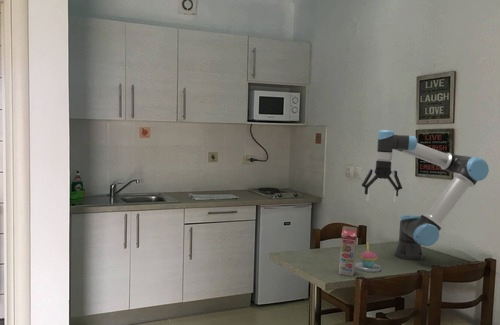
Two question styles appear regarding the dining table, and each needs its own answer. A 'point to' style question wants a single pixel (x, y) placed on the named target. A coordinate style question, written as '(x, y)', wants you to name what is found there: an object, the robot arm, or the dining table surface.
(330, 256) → the dining table surface
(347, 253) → the juice carton
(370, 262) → the cupcake
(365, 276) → the dining table surface
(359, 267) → the plate
